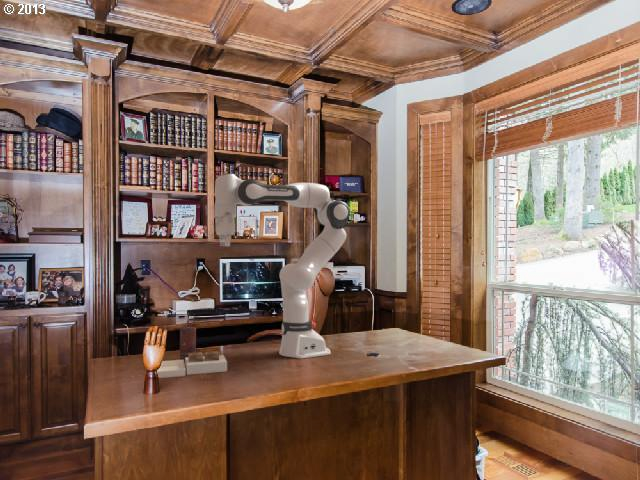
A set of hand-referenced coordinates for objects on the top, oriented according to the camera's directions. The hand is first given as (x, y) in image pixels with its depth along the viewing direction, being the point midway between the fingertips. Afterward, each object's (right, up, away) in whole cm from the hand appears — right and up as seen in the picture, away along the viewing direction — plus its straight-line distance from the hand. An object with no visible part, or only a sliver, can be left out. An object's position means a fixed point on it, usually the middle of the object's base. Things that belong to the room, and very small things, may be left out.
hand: (224, 246), depth 183 cm
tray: (-16, -47, -19) cm, 53 cm away
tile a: (-2, -43, -14) cm, 45 cm away
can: (-14, -47, -4) cm, 49 cm away
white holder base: (-4, -47, -14) cm, 49 cm away
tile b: (-8, -43, -16) cm, 46 cm away
